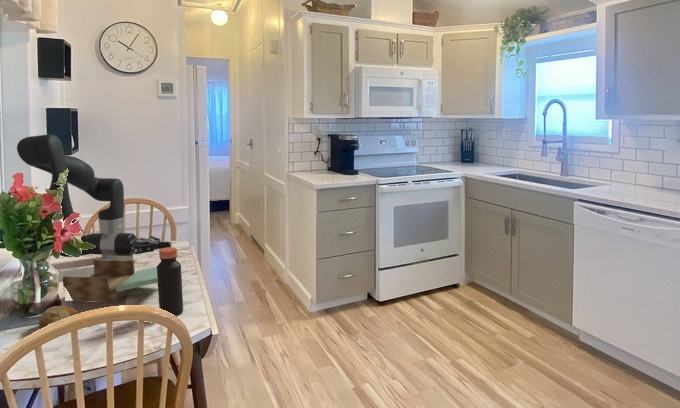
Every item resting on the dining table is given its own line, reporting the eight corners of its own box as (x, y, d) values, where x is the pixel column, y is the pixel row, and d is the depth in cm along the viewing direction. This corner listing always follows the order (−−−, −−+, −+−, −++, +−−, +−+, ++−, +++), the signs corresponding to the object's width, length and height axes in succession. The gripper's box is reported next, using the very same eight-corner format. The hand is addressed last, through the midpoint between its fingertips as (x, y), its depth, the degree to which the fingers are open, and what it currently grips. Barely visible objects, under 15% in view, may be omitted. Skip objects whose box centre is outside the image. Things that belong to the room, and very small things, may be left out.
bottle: (157, 311, 143) (153, 248, 139) (179, 306, 147) (176, 245, 143) (162, 319, 138) (158, 254, 134) (186, 314, 141) (182, 250, 138)
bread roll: (43, 336, 134) (26, 316, 130) (77, 312, 140) (62, 292, 136) (52, 348, 127) (35, 328, 123) (88, 323, 133) (72, 302, 129)
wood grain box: (64, 301, 149) (62, 277, 148) (96, 280, 168) (94, 259, 166) (114, 302, 149) (112, 278, 147) (140, 281, 168) (139, 260, 166)
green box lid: (115, 287, 150) (156, 277, 149) (137, 271, 165) (175, 262, 164) (118, 294, 150) (159, 285, 149) (140, 277, 166) (177, 268, 165)
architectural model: (117, 271, 180) (116, 252, 178) (137, 268, 183) (135, 250, 182) (117, 273, 177) (116, 254, 175) (137, 271, 180) (136, 252, 178)
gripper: (107, 239, 148) (161, 240, 148) (127, 228, 161) (176, 229, 161) (109, 261, 150) (163, 262, 149) (128, 248, 163) (178, 250, 162)
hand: (170, 245), depth 155 cm, fingers closed
